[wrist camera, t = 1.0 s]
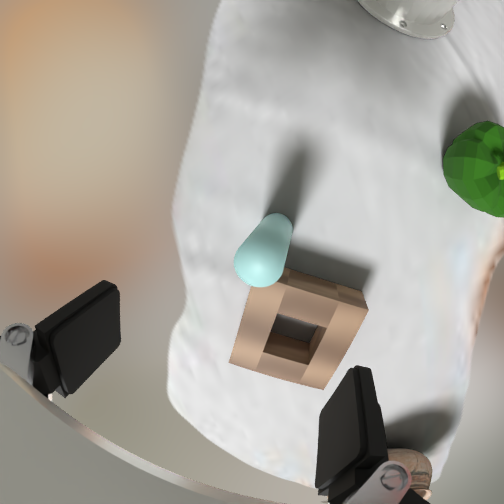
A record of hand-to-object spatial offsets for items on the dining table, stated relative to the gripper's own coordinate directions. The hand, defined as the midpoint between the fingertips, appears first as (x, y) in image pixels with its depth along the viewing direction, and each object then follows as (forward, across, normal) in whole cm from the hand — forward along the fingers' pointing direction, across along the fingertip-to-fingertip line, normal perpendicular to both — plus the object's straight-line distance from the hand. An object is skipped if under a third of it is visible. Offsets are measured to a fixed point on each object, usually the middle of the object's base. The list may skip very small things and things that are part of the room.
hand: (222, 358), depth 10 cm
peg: (+18, 0, 0) cm, 19 cm away
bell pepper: (+19, -17, -13) cm, 29 cm away
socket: (+18, -5, +8) cm, 21 cm away
